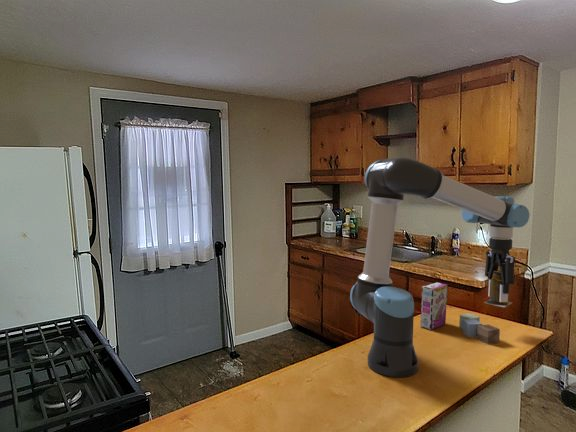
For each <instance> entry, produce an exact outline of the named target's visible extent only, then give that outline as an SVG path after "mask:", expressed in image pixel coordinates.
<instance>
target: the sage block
mask: <svg viewBox="0 0 576 432" xmlns="http://www.w3.org/2000/svg"><path fill="white" fill-rule="evenodd" d="M463 319H476V320H477V321H479V322H480V319H481V318H480V316H478V315H476V314H472V313H469V312H468V313H463V314H459V323H458V324H459V326H458V327H459V328H460V329H462V321H463ZM480 323H481V322H480Z"/></svg>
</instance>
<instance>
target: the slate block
mask: <svg viewBox="0 0 576 432" xmlns="http://www.w3.org/2000/svg"><path fill="white" fill-rule="evenodd" d="M479 325H483V323H482V322H479V321H477V320H476V319H463V321H462V328H461V332H462V333H463V335H465V336H466V337H468V338H477V326H479Z"/></svg>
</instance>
